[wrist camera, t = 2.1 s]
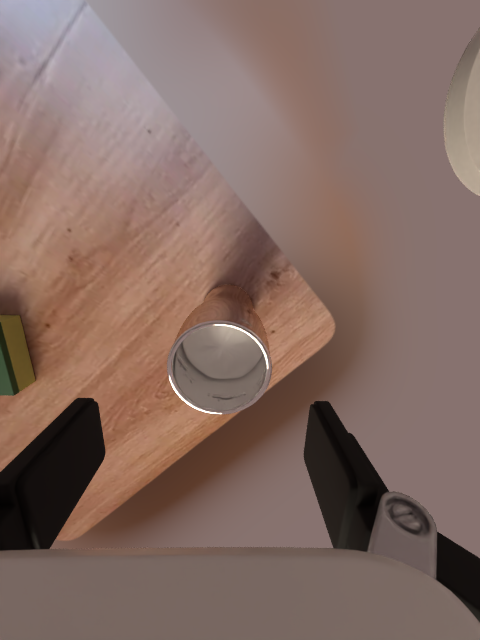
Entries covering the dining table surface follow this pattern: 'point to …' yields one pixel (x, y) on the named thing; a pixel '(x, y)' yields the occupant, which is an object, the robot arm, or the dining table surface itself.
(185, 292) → the dining table surface
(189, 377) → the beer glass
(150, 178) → the dining table surface
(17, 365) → the sponge
